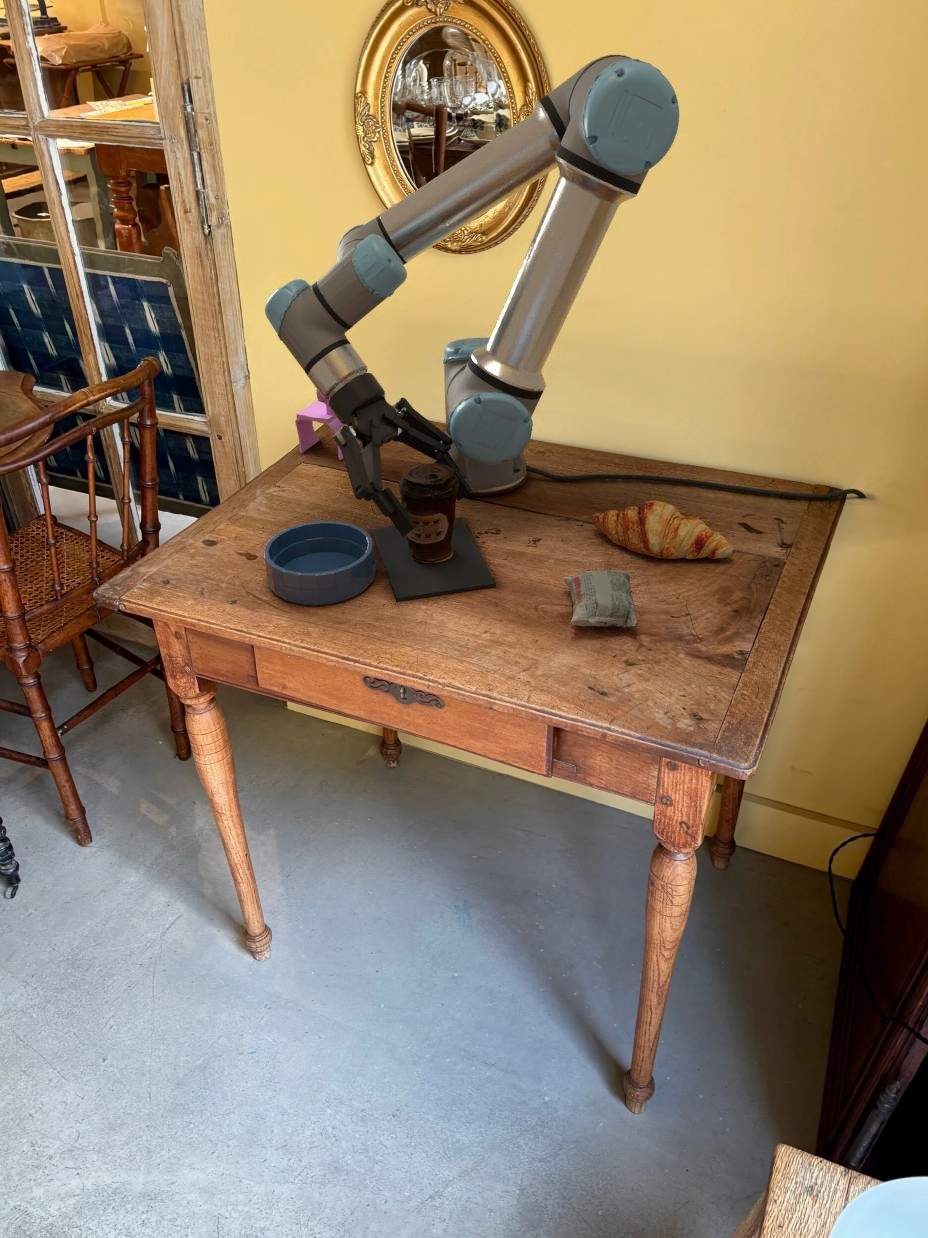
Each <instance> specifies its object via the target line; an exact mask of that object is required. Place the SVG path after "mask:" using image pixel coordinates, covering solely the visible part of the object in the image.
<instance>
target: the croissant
mask: <svg viewBox="0 0 928 1238" xmlns="http://www.w3.org/2000/svg"><path fill="white" fill-rule="evenodd" d="M591 522H592V525H593V527H594V528H596V529H597V530H599V531H600V532H601V533H602V534H604V535H606V537H607V538H608V539H609V540H610V541H611V542H612V543H614V544H616V546H617V545H618V546H621V547H624V548H626V550H629V551H631V552H634V553H637V554H639V555H646V556H650V557H653V558H657V559H668V560H669V559H670V560H671V559H674V560H676V559H686V560H696V559H704V558H708V559H712V560H717V559H725V558H728V557H730V556H732V554H733V553H734V552H733V551H734V547H733V546H732V544H731V543H729V542H728V541H727V539H726V538H725V537H724V536H723V535H722V533H720V532H719V531H713V530H711V528H710V527H709V526H708V525H707V524H706V523H705V522H704V521H703V520H702V519H701V517H700V516H691V515H690V516H686V515H683V514H681V513H680V511H679V509H678V507H675V506H674V505H673V504H670V503H669V502H664V501H660V500H655V499H654V500H649V499H648V500H645V501H644V502H643V503H642V504H641V505H640V506H639V507H638V506H634V505H628V506H626V507H625V508H624V510H620V511H618V510H616V509H610V510H605V511H604V512H602V513H600V512H594V513H592V516H591Z"/></svg>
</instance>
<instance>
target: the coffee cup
mask: <svg viewBox="0 0 928 1238" xmlns="http://www.w3.org/2000/svg"><path fill="white" fill-rule="evenodd" d="M454 472H455V470H453V469H452V468H451V467H449V466H447V465H443V464H436V463H435V462H433V463H422V464H419V465H416V466H412V467H409V468H406V469H405V470H404V472H403V476H402V477H401V478H400V480H399V483H398V489H399V495H400V503H401V505H402V506H403V508H404V509H405V510H406V512H407V513H408V515H409V516H410V517H411V519H412V520H413V521H414V523H415V524H416V526H417V527H415V528H414V529H413V530H412V531H410V532H409V533H408V534H407V535H406V536H407V540H408V545H409V554H410V556H411V557H412V558H413V559H414V560H416V561H419V562H423V563H436V562H442V561H445V560H447V559H450V558H451V557H452V555H453V548H452V546H451V543H452V542H451V540H452V535H453V529H454V525H455V518H457V517H456V516H457V514H456V512H457V511H456V510H457V509H456V507H457V498H456V494H457V492H458V488H459V479H458V477H457V476H456V475H454Z"/></svg>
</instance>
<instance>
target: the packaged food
mask: <svg viewBox="0 0 928 1238" xmlns="http://www.w3.org/2000/svg"><path fill="white" fill-rule="evenodd" d="M562 580H563V582H564V584H565V585H566V586H567V587H568V589H569V591H570V595H571V601H572V604H573V607H572V617H571V620H570V621H569V623H568V625H569V626H570V627H572V626H578V627H579V626H580V627H613V628H630V627H633V628H634V627H636V626H637V625H638V617H637V611H636V606H635V603H634V597H633V595H632V588H631V585H630V582H631V575H630V574H629V573H626V572H620V571H613V570H600V571H599V570H598V571H597V570H596V571H588V572H584V573H578V574H576V575H574V576H573V575H572V576H564V577H563V579H562Z"/></svg>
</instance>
